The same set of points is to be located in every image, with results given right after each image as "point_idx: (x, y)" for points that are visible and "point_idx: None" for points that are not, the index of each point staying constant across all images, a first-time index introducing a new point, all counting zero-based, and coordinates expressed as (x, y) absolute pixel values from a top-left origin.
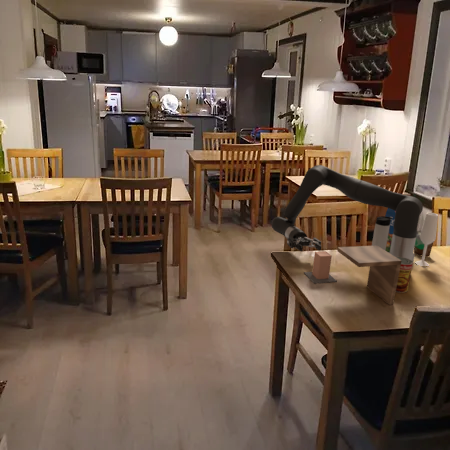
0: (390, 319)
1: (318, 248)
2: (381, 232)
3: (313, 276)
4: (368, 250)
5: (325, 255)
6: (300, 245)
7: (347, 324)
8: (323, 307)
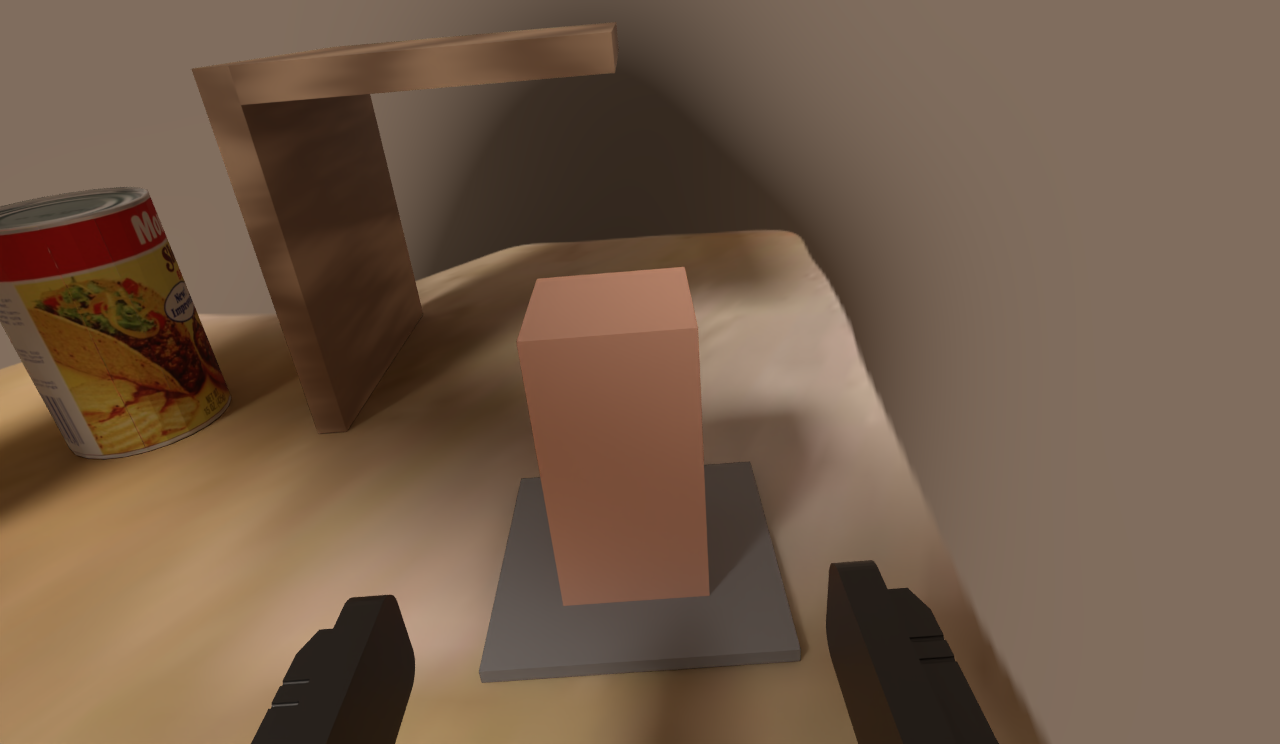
0: (525, 263)
1: (395, 675)
2: None
3: (715, 549)
4: (386, 48)
5: (610, 278)
6: (883, 620)
7: (727, 245)
8: (789, 297)
